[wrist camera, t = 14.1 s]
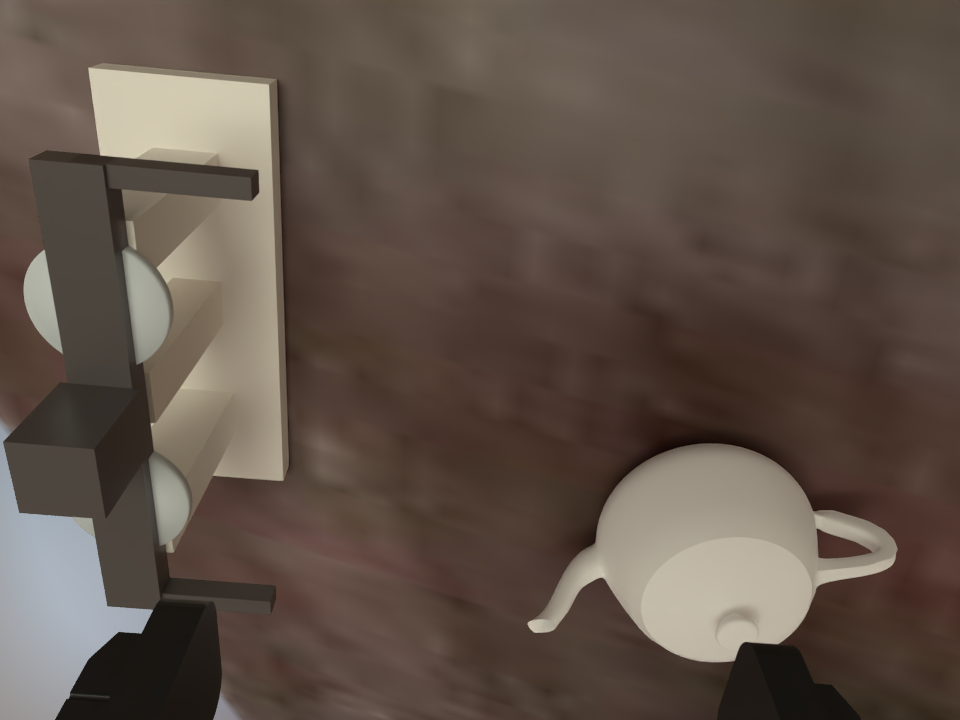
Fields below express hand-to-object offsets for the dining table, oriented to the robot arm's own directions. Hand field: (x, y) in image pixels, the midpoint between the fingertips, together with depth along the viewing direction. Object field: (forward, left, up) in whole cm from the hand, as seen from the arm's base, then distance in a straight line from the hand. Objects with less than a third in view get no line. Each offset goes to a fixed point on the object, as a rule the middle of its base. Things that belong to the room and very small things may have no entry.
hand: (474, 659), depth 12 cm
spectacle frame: (+8, -12, -19) cm, 24 cm away
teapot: (+20, +14, -30) cm, 39 cm away
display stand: (+8, -14, -30) cm, 34 cm away
